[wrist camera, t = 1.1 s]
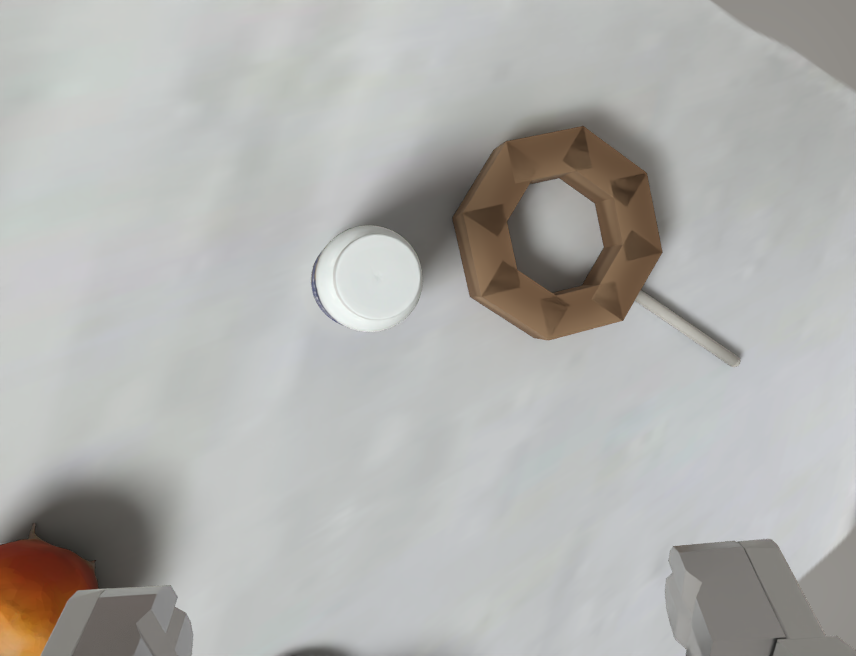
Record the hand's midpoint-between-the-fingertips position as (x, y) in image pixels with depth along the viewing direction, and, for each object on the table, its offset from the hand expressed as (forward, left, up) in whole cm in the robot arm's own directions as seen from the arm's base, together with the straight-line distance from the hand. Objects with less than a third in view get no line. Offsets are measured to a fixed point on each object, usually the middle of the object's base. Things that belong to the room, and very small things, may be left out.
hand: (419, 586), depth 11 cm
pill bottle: (-1, +6, -30) cm, 31 cm away
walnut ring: (+8, +15, -30) cm, 34 cm away
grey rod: (+19, +15, -30) cm, 38 cm away
